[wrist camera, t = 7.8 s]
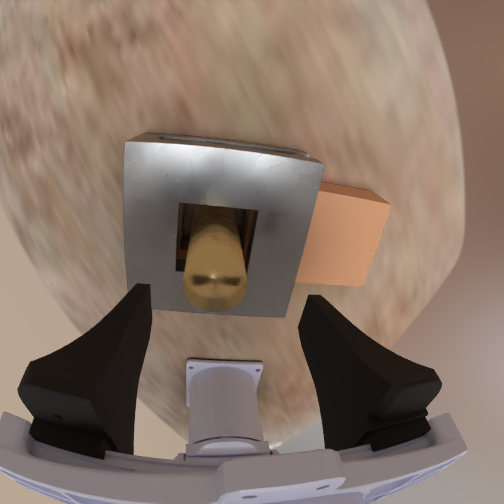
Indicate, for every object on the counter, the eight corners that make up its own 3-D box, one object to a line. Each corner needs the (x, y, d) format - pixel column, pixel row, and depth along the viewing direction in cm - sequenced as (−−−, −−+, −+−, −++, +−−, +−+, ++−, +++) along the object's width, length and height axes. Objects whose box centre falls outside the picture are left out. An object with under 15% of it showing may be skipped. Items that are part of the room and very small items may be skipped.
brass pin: (231, 236, 22) (240, 315, 14) (191, 230, 22) (180, 308, 14) (239, 198, 21) (254, 263, 13) (197, 192, 20) (186, 254, 12)
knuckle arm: (349, 267, 25) (362, 286, 22) (164, 252, 22) (158, 272, 20) (373, 192, 22) (391, 204, 19) (168, 162, 19) (161, 172, 16)
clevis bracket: (273, 282, 25) (284, 317, 21) (141, 271, 23) (129, 306, 19) (303, 150, 20) (324, 164, 16) (144, 132, 18) (125, 141, 14)
